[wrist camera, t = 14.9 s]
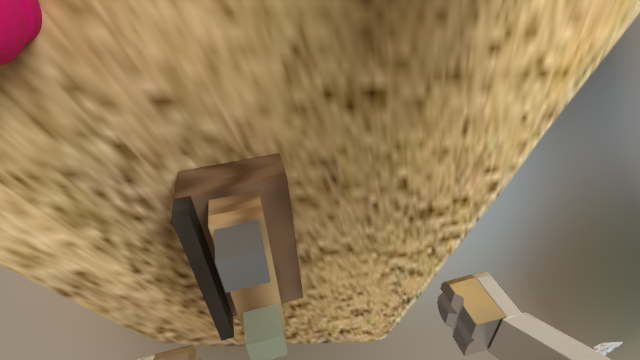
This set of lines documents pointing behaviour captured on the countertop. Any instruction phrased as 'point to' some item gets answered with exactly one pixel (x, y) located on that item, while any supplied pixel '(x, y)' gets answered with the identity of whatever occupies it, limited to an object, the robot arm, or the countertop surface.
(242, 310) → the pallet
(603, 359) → the robot arm
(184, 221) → the block
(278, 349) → the block
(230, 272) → the block
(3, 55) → the pepper mill
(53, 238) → the countertop surface
